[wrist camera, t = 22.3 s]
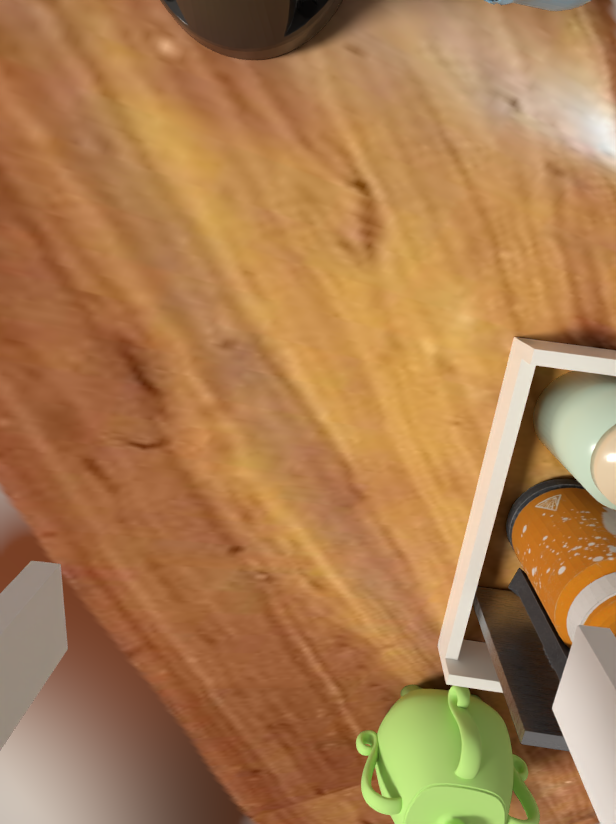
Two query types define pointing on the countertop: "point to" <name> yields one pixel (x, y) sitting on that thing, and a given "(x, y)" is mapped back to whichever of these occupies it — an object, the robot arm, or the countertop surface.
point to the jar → (582, 429)
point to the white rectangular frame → (472, 658)
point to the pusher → (520, 667)
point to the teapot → (444, 761)
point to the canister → (564, 563)
